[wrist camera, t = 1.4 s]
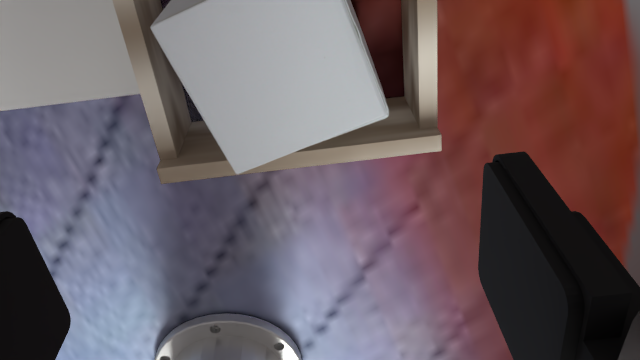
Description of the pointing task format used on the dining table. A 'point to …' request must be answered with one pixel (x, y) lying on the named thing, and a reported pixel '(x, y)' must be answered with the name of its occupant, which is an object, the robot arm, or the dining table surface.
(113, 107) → the dining table surface
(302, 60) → the supplement box
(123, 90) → the mat
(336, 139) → the cold frame
